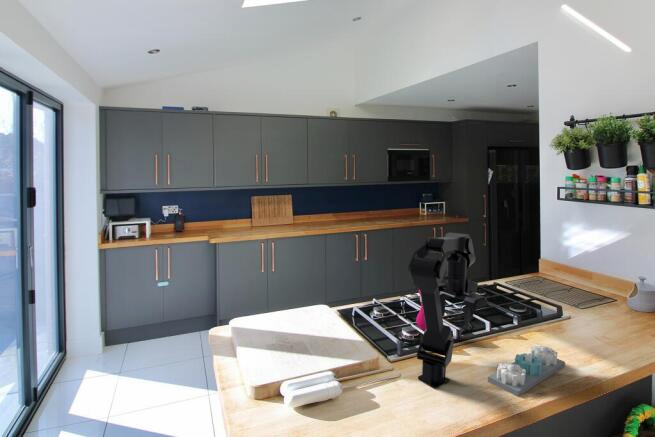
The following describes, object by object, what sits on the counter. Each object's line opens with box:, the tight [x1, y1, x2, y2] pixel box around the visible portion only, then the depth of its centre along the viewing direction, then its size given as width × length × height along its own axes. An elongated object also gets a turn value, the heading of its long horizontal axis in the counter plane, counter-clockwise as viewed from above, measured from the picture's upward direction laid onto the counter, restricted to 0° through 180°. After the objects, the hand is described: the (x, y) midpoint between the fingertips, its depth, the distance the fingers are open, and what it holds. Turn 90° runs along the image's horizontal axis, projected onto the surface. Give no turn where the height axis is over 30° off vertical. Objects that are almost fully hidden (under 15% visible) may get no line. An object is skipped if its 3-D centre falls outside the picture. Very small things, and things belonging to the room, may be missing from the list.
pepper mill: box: [415, 289, 426, 331], centre depth 144 cm, size 7×7×20 cm
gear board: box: [487, 344, 566, 397], centre depth 118 cm, size 26×9×6 cm, turn 125°
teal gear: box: [514, 352, 543, 376], centre depth 118 cm, size 7×7×3 cm
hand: (454, 320), depth 127 cm, fingers open, 9 cm apart
